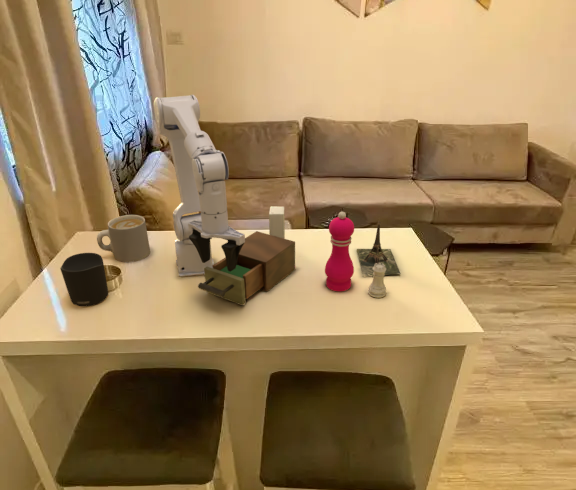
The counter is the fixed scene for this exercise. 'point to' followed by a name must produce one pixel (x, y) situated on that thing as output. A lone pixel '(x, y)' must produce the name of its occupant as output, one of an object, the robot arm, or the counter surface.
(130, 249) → the coffee mug
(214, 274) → the drawer
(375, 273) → the rook chess piece
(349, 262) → the pepper mill
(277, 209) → the cosmetic box
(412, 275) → the counter surface
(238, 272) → the sponge
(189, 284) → the counter surface
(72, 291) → the black speaker
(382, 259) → the eiffel tower figurine
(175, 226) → the robot arm
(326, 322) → the counter surface
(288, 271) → the cabinet
